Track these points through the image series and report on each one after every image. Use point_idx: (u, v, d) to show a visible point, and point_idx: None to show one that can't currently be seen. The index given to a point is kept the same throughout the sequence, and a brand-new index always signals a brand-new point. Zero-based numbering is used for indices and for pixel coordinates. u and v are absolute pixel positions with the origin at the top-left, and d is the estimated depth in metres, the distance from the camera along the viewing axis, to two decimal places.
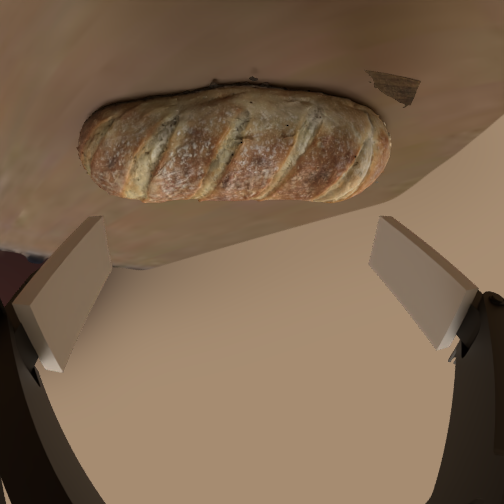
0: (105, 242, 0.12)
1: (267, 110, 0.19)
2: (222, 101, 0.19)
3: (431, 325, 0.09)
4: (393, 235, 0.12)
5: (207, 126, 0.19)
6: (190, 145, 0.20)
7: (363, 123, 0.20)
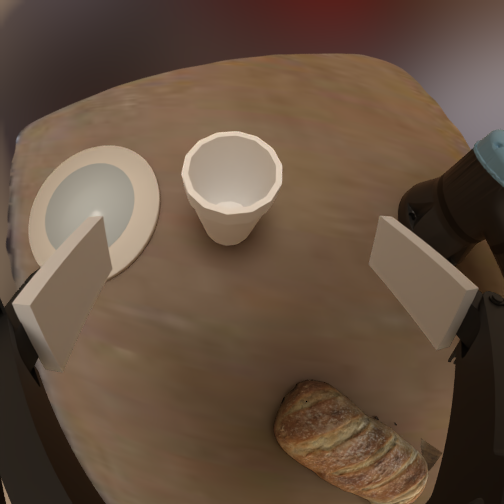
0: (105, 242, 0.12)
1: (401, 439, 0.28)
2: (385, 425, 0.29)
3: (431, 325, 0.09)
4: (393, 235, 0.12)
5: (384, 430, 0.27)
6: (374, 434, 0.27)
7: None
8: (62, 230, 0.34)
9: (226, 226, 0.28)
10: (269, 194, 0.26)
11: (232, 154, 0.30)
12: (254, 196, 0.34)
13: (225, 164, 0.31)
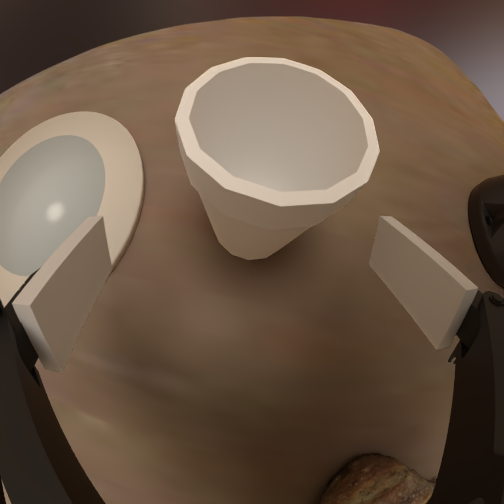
0: (105, 242, 0.12)
1: None
2: None
3: (431, 325, 0.09)
4: (393, 235, 0.12)
5: None
6: None
7: None
8: (6, 232, 0.20)
9: (265, 231, 0.14)
10: (362, 168, 0.11)
11: (270, 102, 0.16)
12: (299, 180, 0.20)
13: (255, 121, 0.17)
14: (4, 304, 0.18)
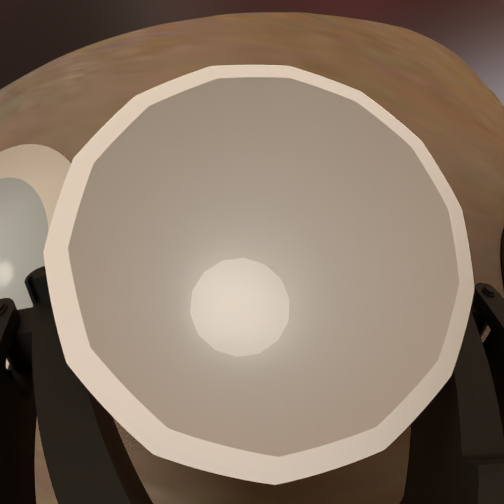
0: None
1: None
2: None
3: None
4: None
5: None
6: None
7: None
8: None
9: None
10: (447, 348, 0.05)
11: (263, 149, 0.09)
12: (309, 263, 0.14)
13: (238, 181, 0.10)
14: None
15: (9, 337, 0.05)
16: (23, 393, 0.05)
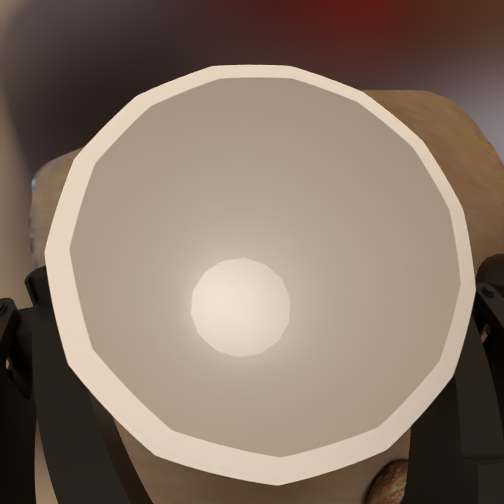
0: None
1: None
2: None
3: None
4: None
5: None
6: None
7: None
8: None
9: None
10: (448, 349, 0.05)
11: (264, 150, 0.09)
12: (310, 264, 0.14)
13: (239, 181, 0.10)
14: None
15: (9, 337, 0.05)
16: (23, 393, 0.05)
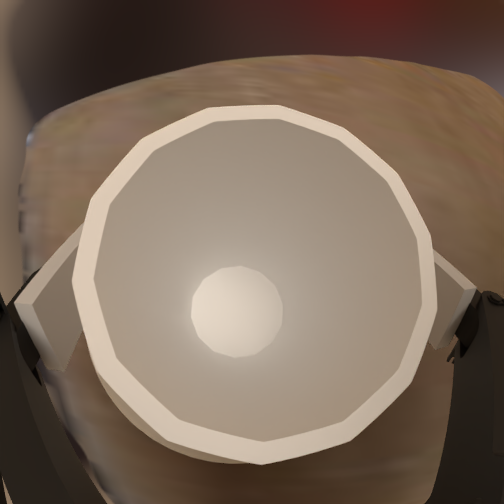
0: None
1: None
2: None
3: None
4: None
5: None
6: None
7: None
8: None
9: None
10: (407, 359, 0.06)
11: (256, 177, 0.10)
12: (299, 274, 0.15)
13: (234, 203, 0.12)
14: (210, 455, 0.16)
15: None
16: None
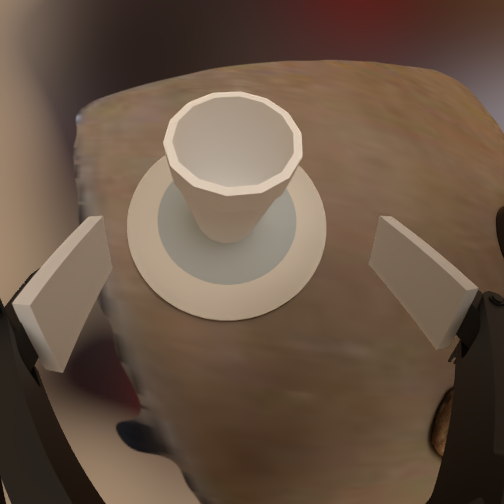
0: (105, 242, 0.12)
1: None
2: None
3: (431, 325, 0.09)
4: (393, 235, 0.12)
5: None
6: None
7: None
8: (192, 244, 0.29)
9: (224, 215, 0.20)
10: (286, 169, 0.18)
11: (233, 123, 0.22)
12: (260, 180, 0.27)
13: (223, 137, 0.23)
14: (205, 312, 0.27)
15: None
16: None
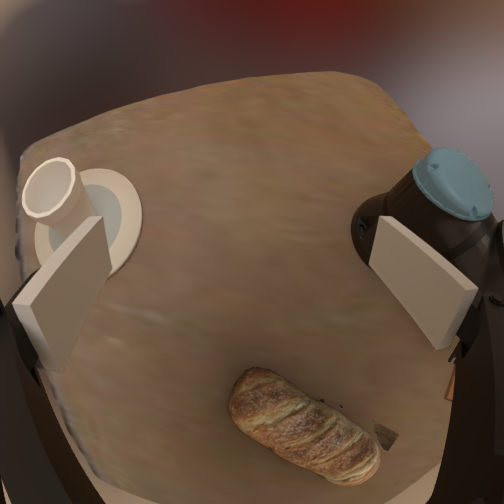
0: (105, 242, 0.12)
1: (345, 419, 0.36)
2: (328, 407, 0.37)
3: (431, 325, 0.09)
4: (393, 235, 0.12)
5: (324, 411, 0.35)
6: (314, 414, 0.34)
7: (376, 442, 0.35)
8: (63, 241, 0.42)
9: (49, 225, 0.33)
10: (60, 202, 0.30)
11: (62, 173, 0.35)
12: None
13: (63, 180, 0.36)
14: None
15: None
16: None
